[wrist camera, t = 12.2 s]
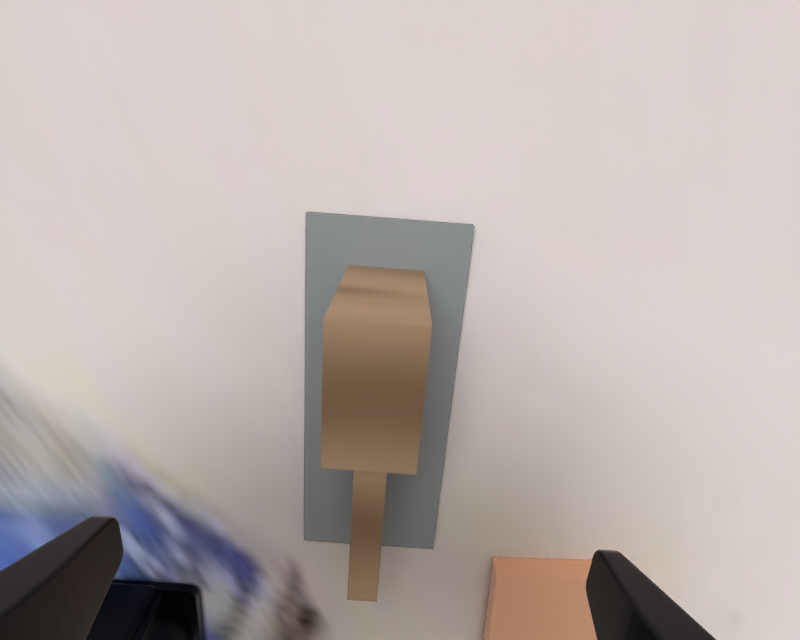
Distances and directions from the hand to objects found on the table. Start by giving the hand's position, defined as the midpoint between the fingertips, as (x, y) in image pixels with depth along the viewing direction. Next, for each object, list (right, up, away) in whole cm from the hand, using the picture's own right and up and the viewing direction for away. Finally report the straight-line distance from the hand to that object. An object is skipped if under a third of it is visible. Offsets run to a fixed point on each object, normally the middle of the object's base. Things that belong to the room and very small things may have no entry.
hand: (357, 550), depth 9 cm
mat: (0, +1, +12) cm, 12 cm away
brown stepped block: (0, +1, +12) cm, 12 cm away
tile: (+9, -8, +15) cm, 19 cm away
